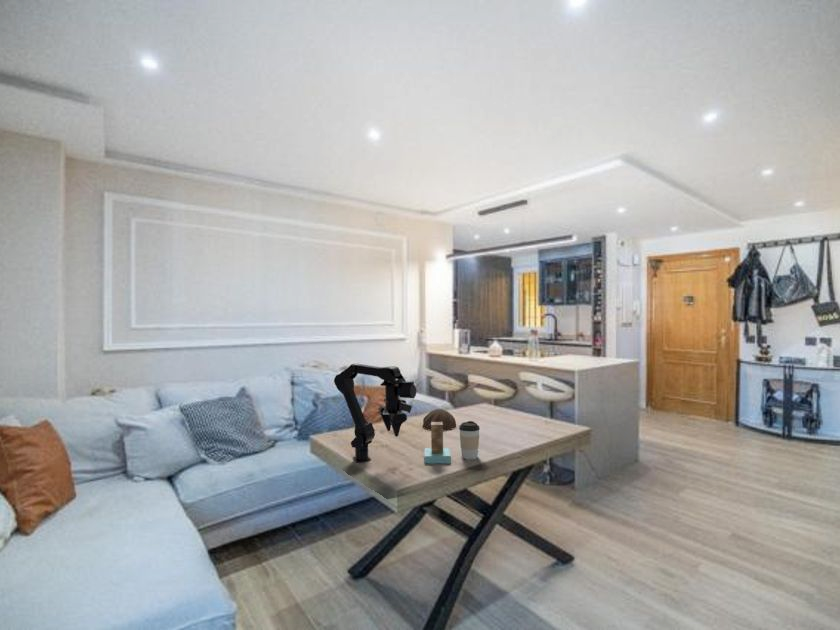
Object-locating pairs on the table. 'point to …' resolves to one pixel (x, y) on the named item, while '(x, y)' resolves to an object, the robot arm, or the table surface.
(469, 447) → the coffee cup
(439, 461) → the base
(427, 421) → the decorative dome
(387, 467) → the table surface
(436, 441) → the block
